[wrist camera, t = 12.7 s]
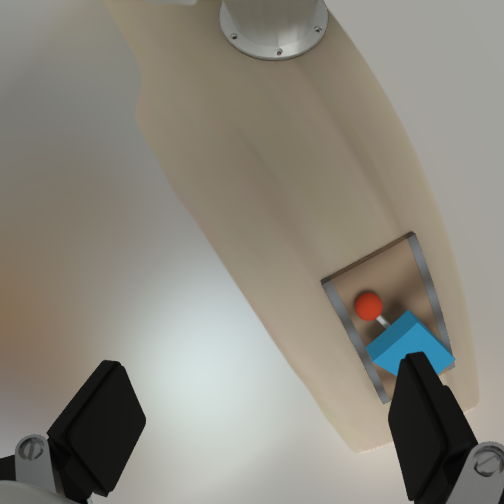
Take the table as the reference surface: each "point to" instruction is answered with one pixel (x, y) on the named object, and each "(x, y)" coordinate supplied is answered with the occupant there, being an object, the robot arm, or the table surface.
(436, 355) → the lever
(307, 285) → the table surface
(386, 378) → the ribbed board
